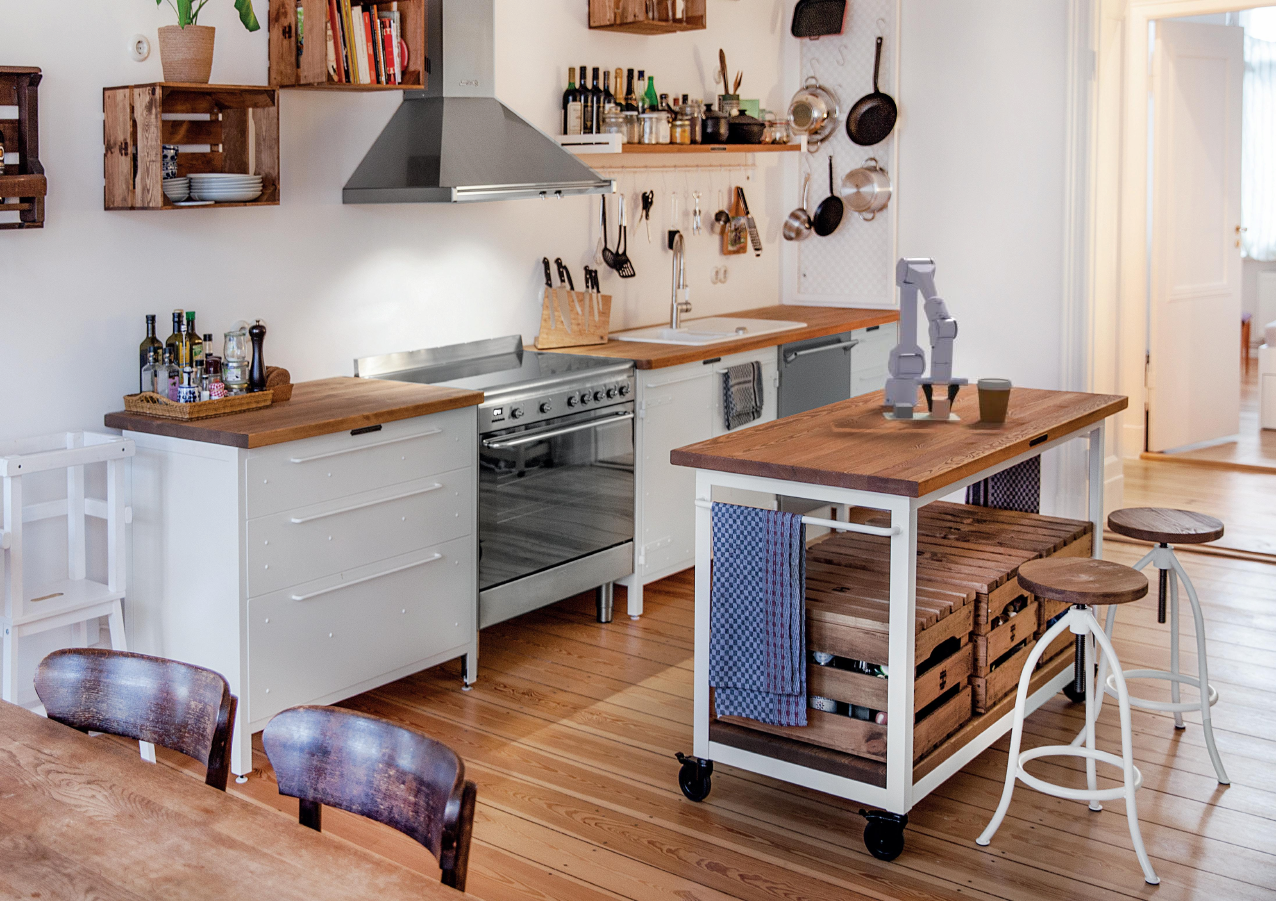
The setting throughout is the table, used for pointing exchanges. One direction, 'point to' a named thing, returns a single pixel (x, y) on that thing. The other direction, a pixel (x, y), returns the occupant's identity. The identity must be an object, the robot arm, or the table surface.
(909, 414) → the charcoal brick
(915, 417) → the baseplate
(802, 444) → the table surface
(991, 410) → the disposable coffee cup
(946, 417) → the terracotta brick
